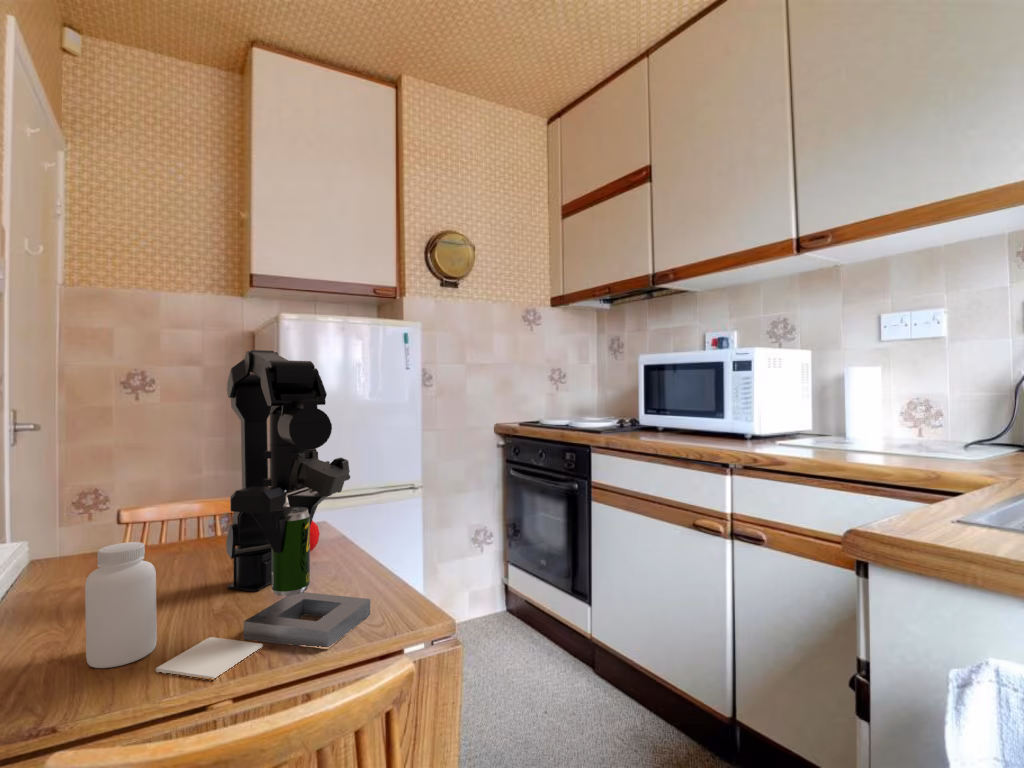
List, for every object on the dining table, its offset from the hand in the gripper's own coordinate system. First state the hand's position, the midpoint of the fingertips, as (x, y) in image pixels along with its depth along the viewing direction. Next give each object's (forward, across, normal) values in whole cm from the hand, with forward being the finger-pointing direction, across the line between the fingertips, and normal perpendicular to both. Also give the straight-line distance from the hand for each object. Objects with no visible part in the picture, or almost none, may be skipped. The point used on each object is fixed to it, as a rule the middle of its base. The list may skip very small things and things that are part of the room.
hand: (290, 546), depth 81 cm
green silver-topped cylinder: (+7, 0, 0) cm, 7 cm away
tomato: (+13, +34, +23) cm, 43 cm away
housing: (+13, +3, -2) cm, 13 cm away
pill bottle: (+13, -11, +19) cm, 25 cm away
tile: (+13, -9, +6) cm, 17 cm away
